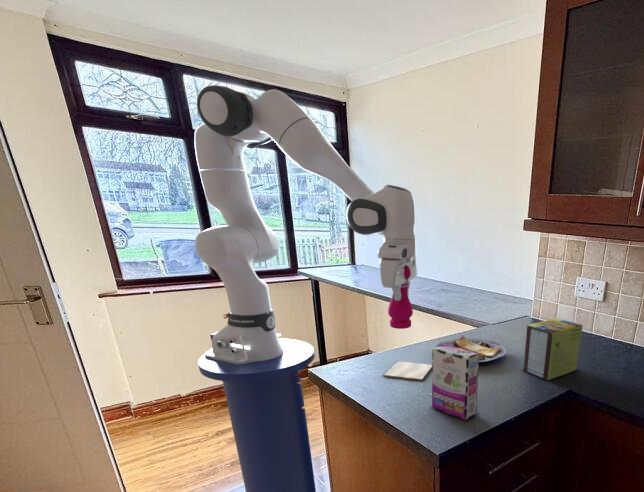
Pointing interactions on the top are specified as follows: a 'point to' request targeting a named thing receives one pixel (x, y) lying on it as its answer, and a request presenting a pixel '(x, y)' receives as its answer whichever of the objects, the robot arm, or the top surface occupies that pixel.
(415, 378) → the coaster mat
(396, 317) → the pepper mill
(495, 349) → the food plate
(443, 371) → the candy bar box
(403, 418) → the top surface
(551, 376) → the protein box
